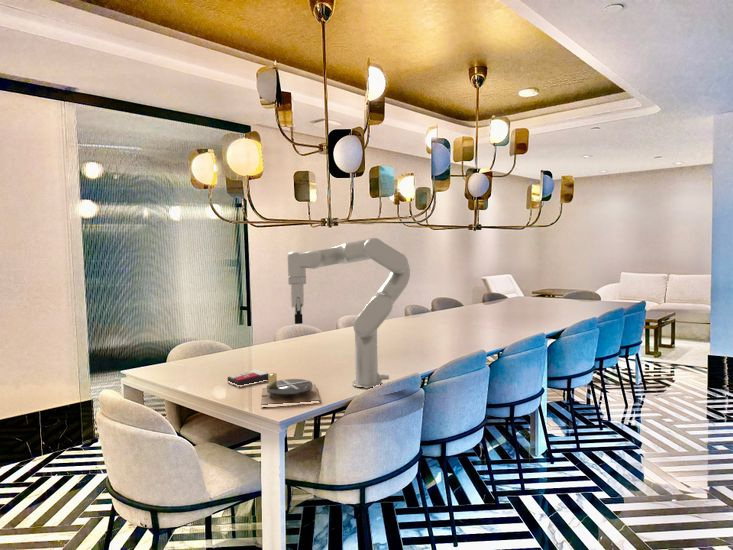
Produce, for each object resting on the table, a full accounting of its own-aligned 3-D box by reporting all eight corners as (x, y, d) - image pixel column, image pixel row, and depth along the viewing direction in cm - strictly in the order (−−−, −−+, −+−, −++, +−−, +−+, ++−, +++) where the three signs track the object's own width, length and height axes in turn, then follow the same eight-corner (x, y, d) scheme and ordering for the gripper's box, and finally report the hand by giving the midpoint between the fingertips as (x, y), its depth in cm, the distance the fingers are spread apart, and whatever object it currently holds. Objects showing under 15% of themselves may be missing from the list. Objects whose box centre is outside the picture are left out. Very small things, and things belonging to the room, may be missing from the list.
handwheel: (301, 384, 215) (301, 363, 214) (320, 394, 199) (319, 372, 198) (260, 391, 205) (259, 370, 205) (276, 402, 190) (275, 379, 189)
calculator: (226, 375, 226) (257, 367, 236) (227, 384, 227) (257, 376, 236) (238, 380, 218) (268, 372, 228) (239, 389, 218) (269, 381, 228)
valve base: (315, 387, 215) (315, 383, 215) (320, 403, 193) (319, 398, 193) (262, 391, 211) (262, 387, 211) (261, 408, 190) (260, 403, 190)
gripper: (287, 279, 223) (289, 321, 224) (288, 282, 208) (290, 326, 209) (305, 279, 224) (306, 320, 225) (307, 281, 209) (308, 325, 211)
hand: (298, 323), depth 217 cm, fingers closed
